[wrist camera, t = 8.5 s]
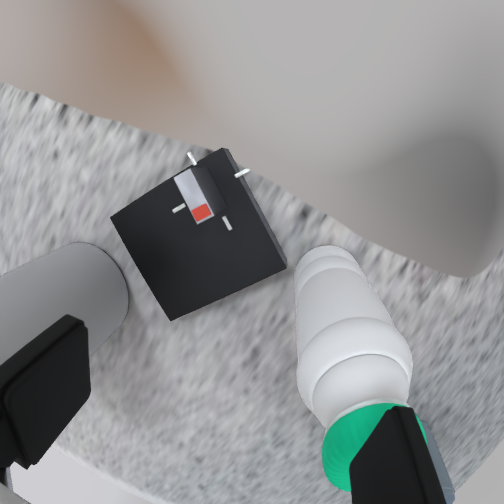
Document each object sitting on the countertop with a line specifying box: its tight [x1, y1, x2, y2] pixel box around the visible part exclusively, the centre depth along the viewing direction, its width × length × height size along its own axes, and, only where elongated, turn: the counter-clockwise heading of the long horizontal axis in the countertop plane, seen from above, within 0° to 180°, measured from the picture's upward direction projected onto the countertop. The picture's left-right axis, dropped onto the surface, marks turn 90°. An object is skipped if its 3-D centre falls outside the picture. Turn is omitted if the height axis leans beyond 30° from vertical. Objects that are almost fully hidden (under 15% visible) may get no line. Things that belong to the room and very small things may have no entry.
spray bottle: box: [420, 420, 455, 504], centre depth 28 cm, size 9×9×25 cm
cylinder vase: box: [0, 242, 128, 365], centre depth 26 cm, size 12×12×25 cm
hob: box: [110, 148, 287, 321], centre depth 33 cm, size 15×14×3 cm
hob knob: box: [174, 167, 227, 224], centre depth 27 cm, size 4×2×6 cm, turn 27°
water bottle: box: [294, 245, 427, 491], centre depth 22 cm, size 7×7×25 cm
